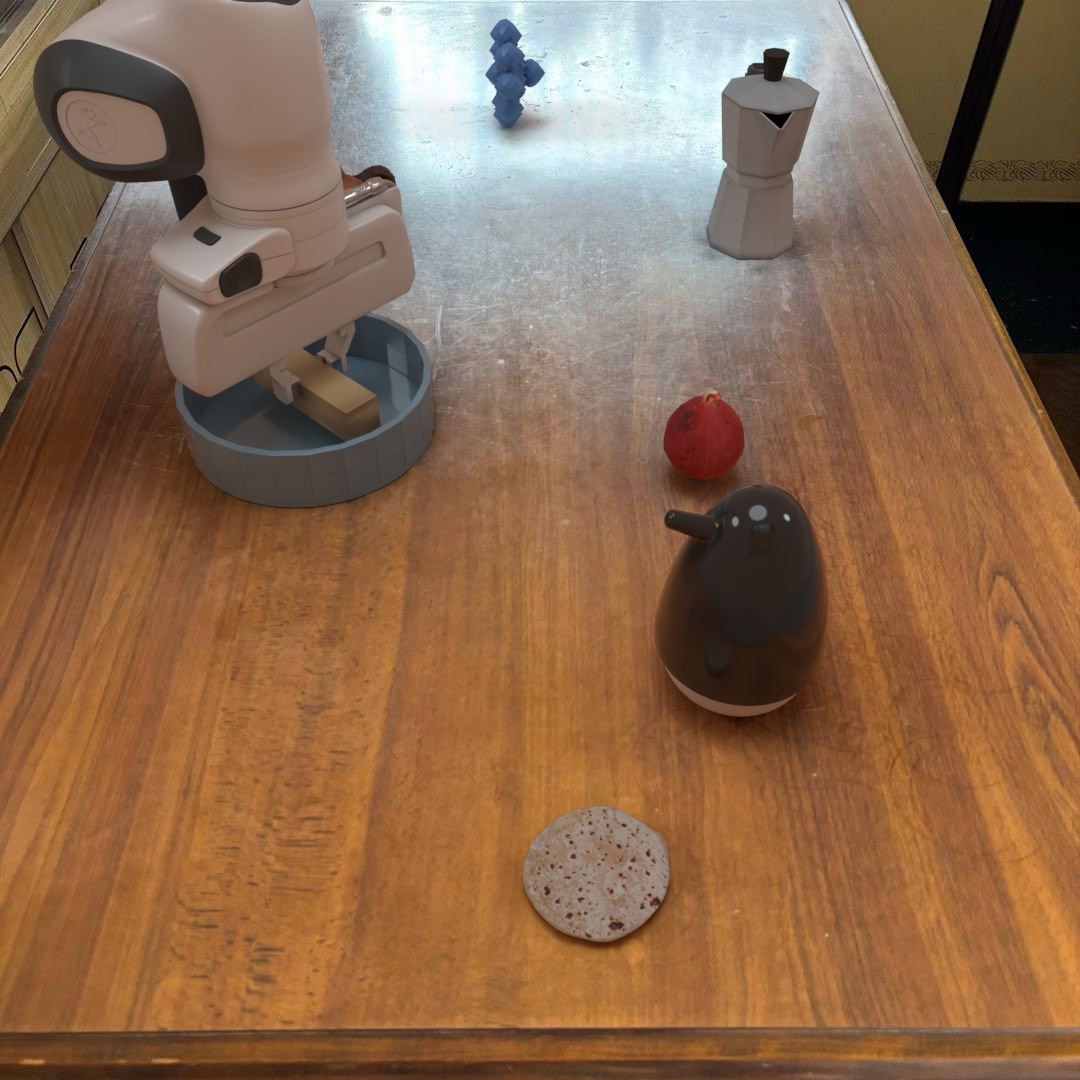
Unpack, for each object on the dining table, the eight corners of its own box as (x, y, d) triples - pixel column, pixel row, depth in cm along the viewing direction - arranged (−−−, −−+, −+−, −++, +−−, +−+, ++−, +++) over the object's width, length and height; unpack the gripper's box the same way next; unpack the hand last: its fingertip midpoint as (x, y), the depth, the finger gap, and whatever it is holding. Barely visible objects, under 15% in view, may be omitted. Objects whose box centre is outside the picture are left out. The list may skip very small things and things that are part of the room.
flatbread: (581, 973, 56) (581, 964, 55) (496, 862, 60) (495, 853, 59) (701, 885, 59) (703, 876, 58) (613, 787, 63) (614, 777, 63)
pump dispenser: (636, 619, 73) (652, 440, 62) (791, 611, 73) (834, 432, 63) (658, 748, 66) (682, 570, 55) (830, 738, 66) (886, 560, 55)
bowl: (141, 429, 87) (124, 377, 84) (331, 330, 97) (323, 280, 94) (291, 546, 78) (280, 493, 74) (485, 422, 88) (482, 371, 84)
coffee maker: (805, 271, 104) (841, 79, 92) (712, 271, 104) (736, 80, 92) (779, 196, 115) (809, 16, 103) (695, 197, 115) (714, 16, 102)
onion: (676, 509, 81) (687, 422, 75) (649, 460, 84) (657, 374, 79) (749, 494, 82) (765, 408, 76) (719, 446, 86) (732, 361, 80)
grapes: (549, 146, 123) (551, 36, 115) (489, 149, 123) (486, 38, 115) (540, 104, 132) (540, -3, 123) (483, 106, 131) (480, -1, 123)
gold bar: (253, 380, 88) (246, 348, 86) (283, 364, 90) (277, 332, 87) (350, 445, 82) (345, 413, 80) (381, 426, 84) (377, 394, 82)
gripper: (367, 155, 82) (386, 314, 92) (126, 259, 71) (176, 428, 81) (425, 181, 79) (438, 344, 89) (182, 295, 68) (227, 466, 78)
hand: (311, 385), depth 85 cm, fingers closed on gold bar, 3 cm apart
